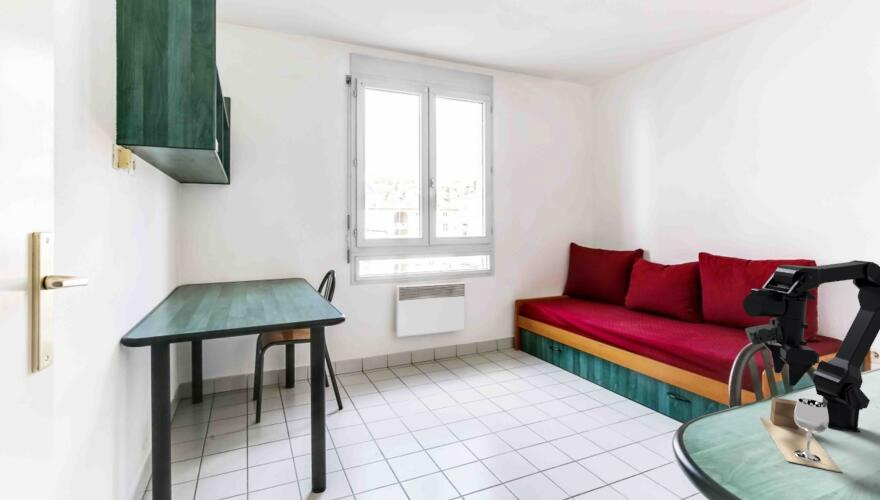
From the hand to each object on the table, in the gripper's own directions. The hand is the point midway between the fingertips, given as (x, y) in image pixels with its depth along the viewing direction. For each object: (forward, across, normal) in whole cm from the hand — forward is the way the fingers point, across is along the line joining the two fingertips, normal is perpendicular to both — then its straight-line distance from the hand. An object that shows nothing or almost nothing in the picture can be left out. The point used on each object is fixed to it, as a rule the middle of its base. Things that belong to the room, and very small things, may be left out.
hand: (784, 379), depth 107 cm
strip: (+12, +8, +1) cm, 15 cm away
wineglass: (+12, +15, 0) cm, 19 cm away
